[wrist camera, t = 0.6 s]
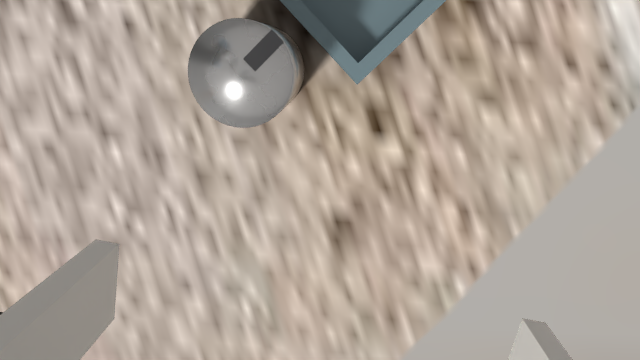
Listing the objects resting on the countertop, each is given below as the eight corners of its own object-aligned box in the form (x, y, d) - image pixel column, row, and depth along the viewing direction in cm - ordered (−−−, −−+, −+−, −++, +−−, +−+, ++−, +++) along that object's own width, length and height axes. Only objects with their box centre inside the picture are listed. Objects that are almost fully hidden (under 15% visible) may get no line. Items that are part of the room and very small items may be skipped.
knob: (200, 68, 36) (164, 72, 29) (260, 4, 34) (238, -7, 27) (261, 130, 37) (241, 149, 30) (322, 71, 35) (315, 76, 28)
